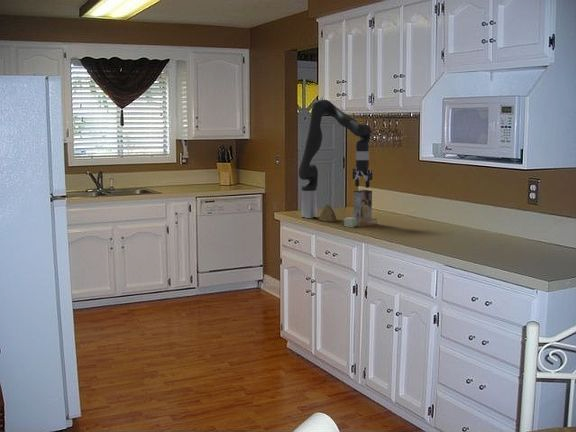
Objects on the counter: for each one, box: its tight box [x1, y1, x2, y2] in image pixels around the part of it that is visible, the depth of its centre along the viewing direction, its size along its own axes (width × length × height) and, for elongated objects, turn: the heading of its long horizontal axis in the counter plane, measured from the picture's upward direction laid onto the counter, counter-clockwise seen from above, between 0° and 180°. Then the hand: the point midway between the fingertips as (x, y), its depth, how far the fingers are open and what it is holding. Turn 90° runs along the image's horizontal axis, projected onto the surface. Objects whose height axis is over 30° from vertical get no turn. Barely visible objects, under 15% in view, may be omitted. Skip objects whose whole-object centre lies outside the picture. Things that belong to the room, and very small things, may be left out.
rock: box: [318, 204, 337, 222], centre depth 403 cm, size 11×9×10 cm
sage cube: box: [343, 216, 358, 228], centre depth 382 cm, size 5×5×5 cm
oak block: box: [357, 216, 378, 227], centre depth 390 cm, size 12×12×4 cm
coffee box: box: [352, 189, 373, 219], centre depth 389 cm, size 9×6×16 cm
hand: (362, 187), depth 387 cm, fingers open, 8 cm apart
